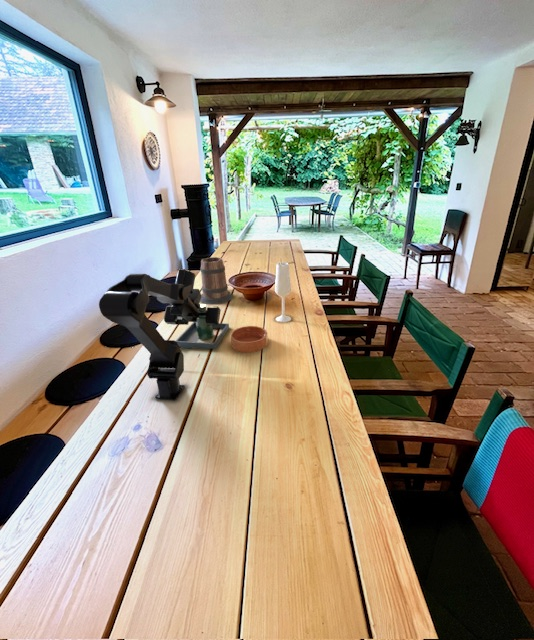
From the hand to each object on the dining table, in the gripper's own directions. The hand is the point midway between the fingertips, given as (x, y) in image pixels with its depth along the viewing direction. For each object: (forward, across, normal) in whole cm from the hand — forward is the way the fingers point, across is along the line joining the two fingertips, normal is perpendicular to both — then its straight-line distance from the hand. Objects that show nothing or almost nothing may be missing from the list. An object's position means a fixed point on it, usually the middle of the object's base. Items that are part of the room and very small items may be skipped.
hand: (200, 323), depth 117 cm
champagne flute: (+23, -28, -11) cm, 38 cm away
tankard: (+42, +9, -30) cm, 53 cm away
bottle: (+9, 0, +2) cm, 9 cm away
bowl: (+6, -18, +6) cm, 20 cm away
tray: (+9, +1, +3) cm, 9 cm away
